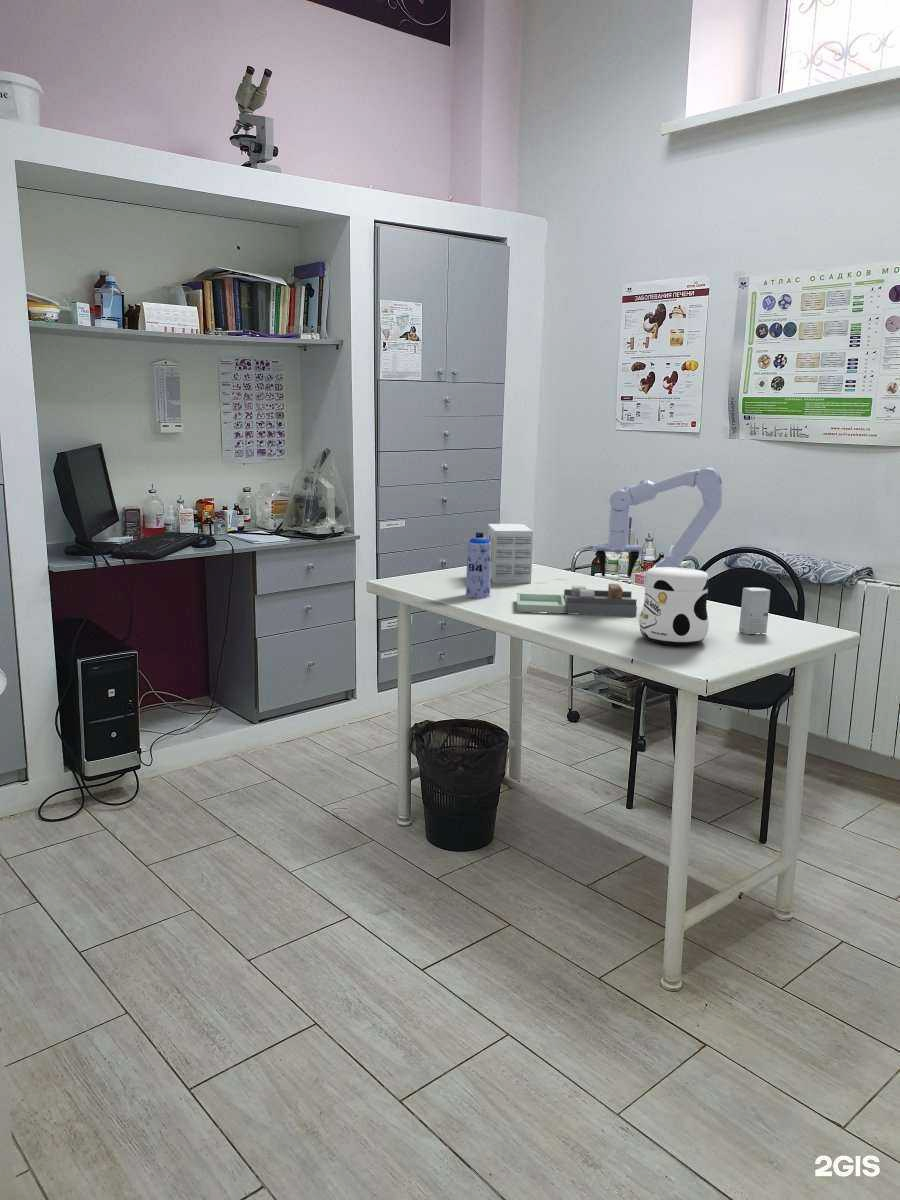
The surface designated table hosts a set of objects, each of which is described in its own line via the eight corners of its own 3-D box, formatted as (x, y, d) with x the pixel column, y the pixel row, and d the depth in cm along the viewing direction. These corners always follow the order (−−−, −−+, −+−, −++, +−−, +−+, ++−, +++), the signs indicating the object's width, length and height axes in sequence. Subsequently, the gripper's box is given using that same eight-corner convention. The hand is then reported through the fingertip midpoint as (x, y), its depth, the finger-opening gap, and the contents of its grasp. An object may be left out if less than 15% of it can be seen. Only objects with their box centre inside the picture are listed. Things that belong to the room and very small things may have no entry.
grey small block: (584, 595, 273) (585, 586, 273) (585, 598, 270) (586, 588, 269) (571, 595, 274) (571, 585, 273) (572, 598, 270) (572, 588, 269)
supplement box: (485, 574, 322) (487, 523, 318) (522, 574, 323) (524, 523, 319) (493, 583, 305) (494, 530, 301) (532, 583, 306) (534, 530, 303)
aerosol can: (461, 597, 283) (463, 533, 278) (470, 592, 290) (472, 530, 286) (485, 599, 280) (487, 535, 276) (493, 594, 287) (495, 531, 283)
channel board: (629, 605, 276) (630, 590, 275) (636, 616, 261) (637, 600, 261) (563, 602, 277) (564, 588, 276) (566, 613, 263) (567, 598, 262)
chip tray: (562, 602, 278) (563, 594, 277) (565, 614, 262) (566, 606, 262) (516, 600, 279) (517, 593, 278) (517, 612, 263) (517, 604, 262)
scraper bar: (618, 596, 273) (618, 583, 272) (621, 603, 264) (622, 589, 263) (607, 596, 273) (608, 583, 272) (611, 602, 264) (612, 589, 263)
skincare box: (746, 635, 242) (750, 590, 239) (737, 631, 246) (741, 587, 244) (767, 634, 243) (771, 590, 241) (758, 630, 248) (762, 586, 245)
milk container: (625, 639, 235) (629, 571, 231) (661, 629, 247) (666, 563, 243) (683, 653, 223) (689, 581, 219) (719, 641, 235) (725, 573, 231)
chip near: (592, 599, 268) (593, 589, 268) (593, 602, 264) (594, 592, 264) (579, 599, 269) (579, 589, 268) (580, 602, 265) (580, 591, 264)
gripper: (641, 529, 271) (638, 574, 274) (592, 528, 272) (590, 573, 275) (645, 532, 265) (642, 578, 267) (595, 531, 265) (592, 577, 268)
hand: (616, 576), depth 271 cm, fingers open, 7 cm apart
